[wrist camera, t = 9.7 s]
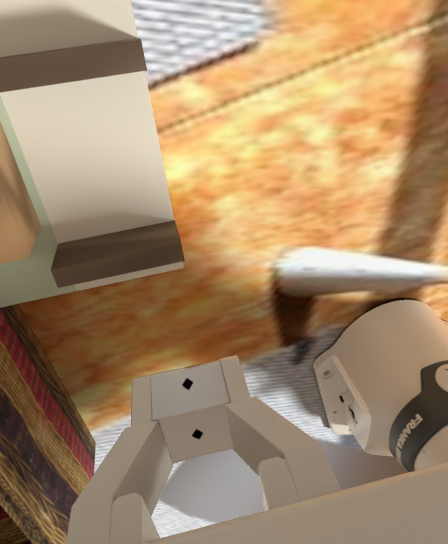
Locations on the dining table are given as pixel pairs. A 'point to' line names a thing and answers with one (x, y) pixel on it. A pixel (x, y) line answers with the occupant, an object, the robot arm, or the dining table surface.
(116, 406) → the dining table surface
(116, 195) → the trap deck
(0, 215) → the tan square block
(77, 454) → the basket
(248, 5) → the dining table surface
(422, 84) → the dining table surface
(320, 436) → the dining table surface
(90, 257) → the dark brown bars
